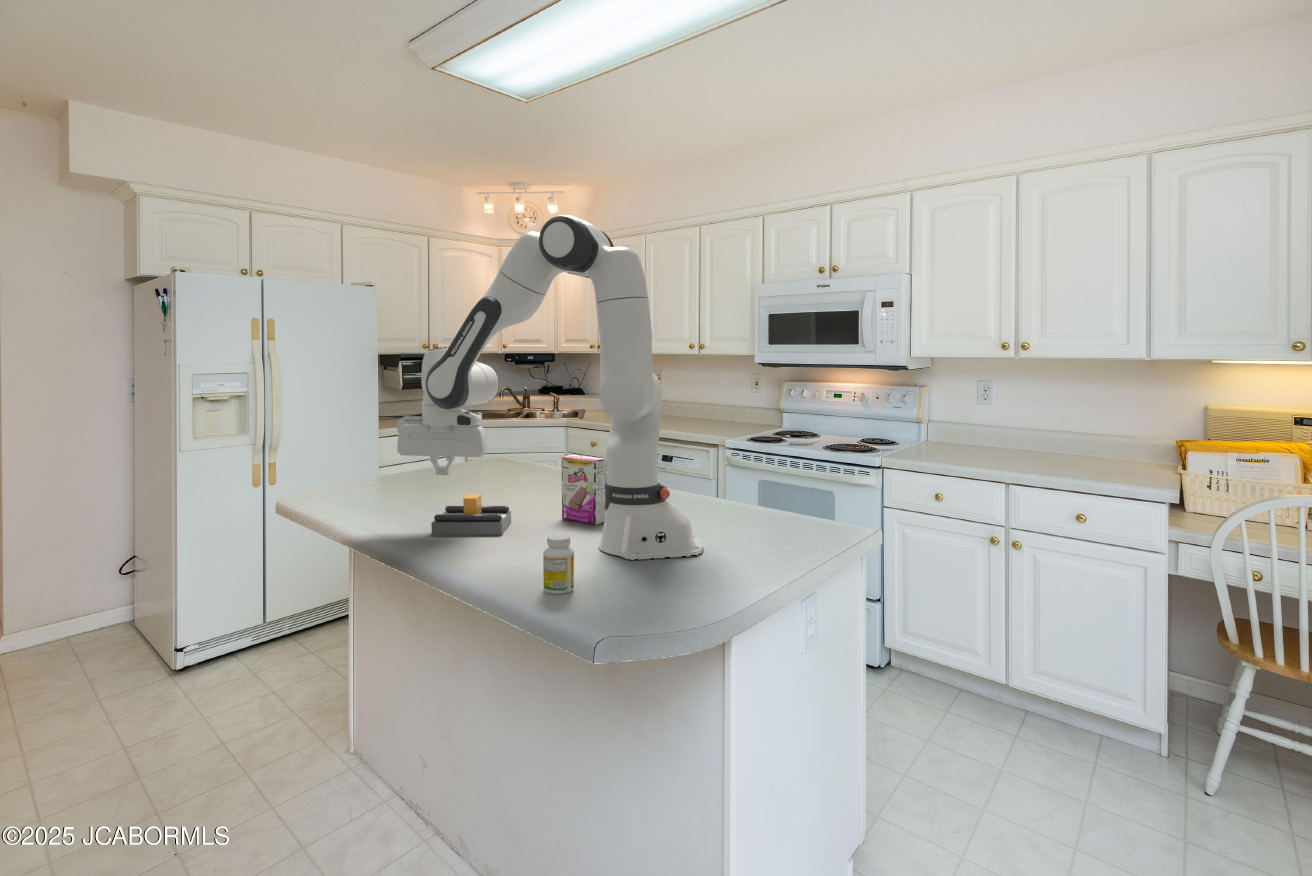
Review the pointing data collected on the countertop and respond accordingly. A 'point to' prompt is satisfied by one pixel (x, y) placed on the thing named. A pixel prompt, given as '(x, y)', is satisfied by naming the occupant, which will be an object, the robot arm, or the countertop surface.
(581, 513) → the candy bar box
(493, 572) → the countertop surface
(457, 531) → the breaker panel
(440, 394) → the robot arm
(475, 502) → the block
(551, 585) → the supplement bottle
